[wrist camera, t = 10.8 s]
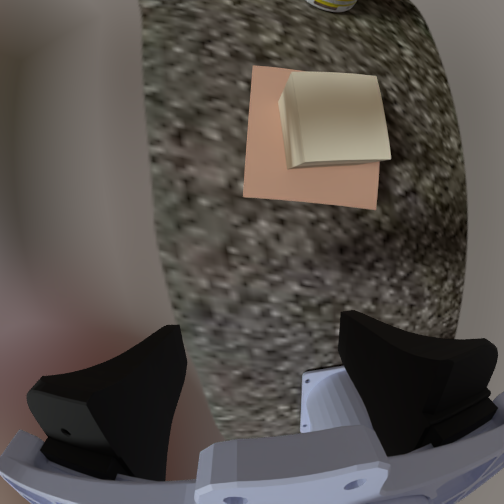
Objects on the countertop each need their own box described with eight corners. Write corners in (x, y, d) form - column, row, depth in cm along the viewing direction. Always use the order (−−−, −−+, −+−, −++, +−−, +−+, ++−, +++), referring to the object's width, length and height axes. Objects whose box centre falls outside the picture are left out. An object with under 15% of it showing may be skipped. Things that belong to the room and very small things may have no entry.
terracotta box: (354, 206, 21) (375, 210, 17) (243, 195, 21) (243, 197, 17) (358, 102, 19) (379, 88, 15) (251, 86, 19) (252, 65, 15)
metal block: (353, 165, 17) (391, 159, 12) (287, 169, 16) (305, 162, 12) (344, 101, 15) (376, 76, 11) (278, 102, 15) (291, 71, 11)
